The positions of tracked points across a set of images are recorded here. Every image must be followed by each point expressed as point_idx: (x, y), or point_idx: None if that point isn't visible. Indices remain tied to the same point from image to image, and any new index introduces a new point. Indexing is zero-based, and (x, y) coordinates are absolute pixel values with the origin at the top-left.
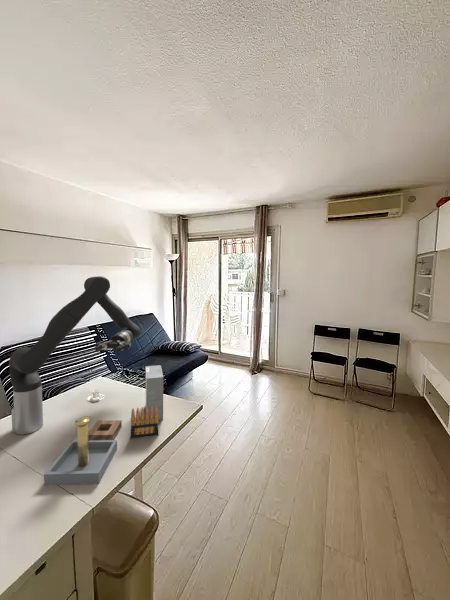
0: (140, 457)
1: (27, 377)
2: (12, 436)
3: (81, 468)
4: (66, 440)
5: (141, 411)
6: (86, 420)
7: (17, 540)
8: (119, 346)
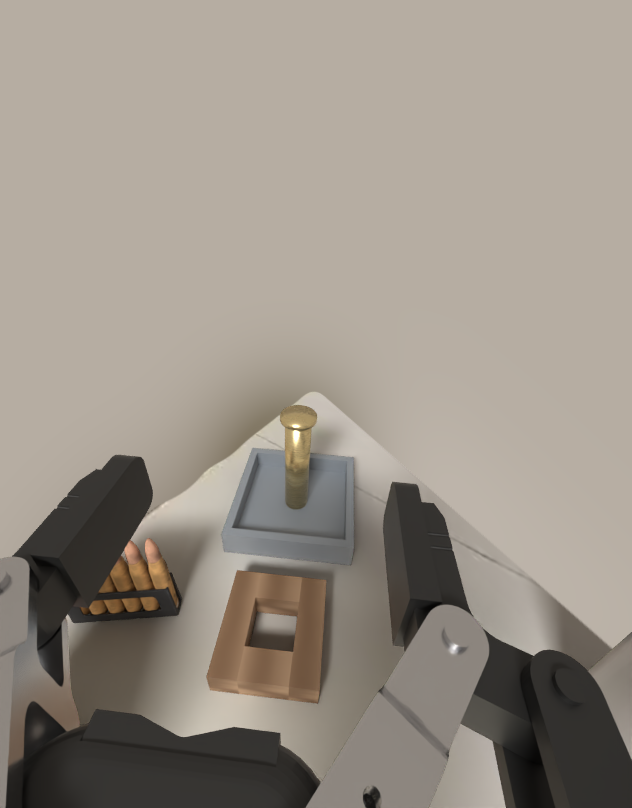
0: (166, 514)
1: None
2: None
3: None
4: None
5: None
6: (288, 413)
7: (332, 413)
8: (89, 489)
